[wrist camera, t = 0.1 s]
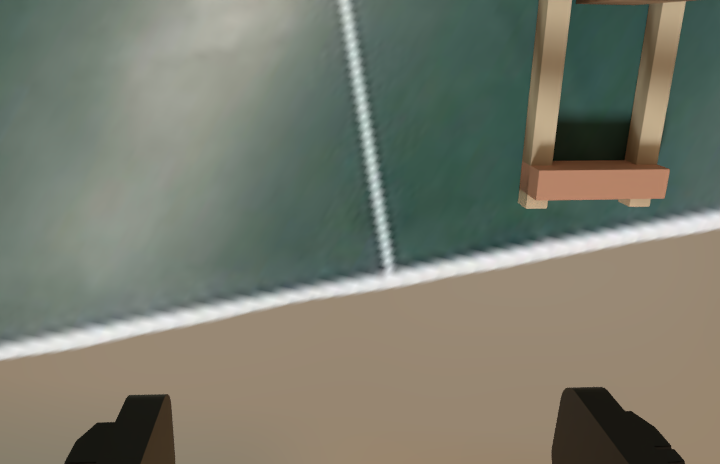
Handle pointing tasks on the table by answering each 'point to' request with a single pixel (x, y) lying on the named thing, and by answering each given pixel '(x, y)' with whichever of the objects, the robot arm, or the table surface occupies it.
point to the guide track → (639, 169)
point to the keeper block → (626, 2)
